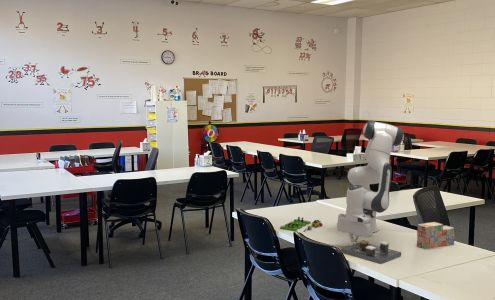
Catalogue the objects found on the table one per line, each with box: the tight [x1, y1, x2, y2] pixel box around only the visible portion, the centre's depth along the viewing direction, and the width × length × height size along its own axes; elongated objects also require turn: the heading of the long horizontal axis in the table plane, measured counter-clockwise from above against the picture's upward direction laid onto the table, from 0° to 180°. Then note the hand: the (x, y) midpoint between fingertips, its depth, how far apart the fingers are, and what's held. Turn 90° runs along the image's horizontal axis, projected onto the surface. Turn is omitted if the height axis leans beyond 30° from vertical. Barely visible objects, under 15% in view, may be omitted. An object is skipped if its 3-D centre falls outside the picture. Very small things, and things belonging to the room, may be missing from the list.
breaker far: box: [379, 240, 390, 250], centre depth 247 cm, size 4×4×3 cm
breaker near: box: [366, 246, 376, 255], centre depth 239 cm, size 4×4×3 cm
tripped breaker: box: [358, 239, 370, 249], centre depth 249 cm, size 4×4×3 cm
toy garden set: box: [279, 216, 324, 233], centre depth 298 cm, size 23×19×5 cm
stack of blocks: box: [416, 221, 456, 250], centre depth 262 cm, size 21×6×12 cm, turn 116°
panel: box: [340, 242, 402, 265], centre depth 246 cm, size 24×18×2 cm
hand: (353, 242), depth 253 cm, fingers closed
